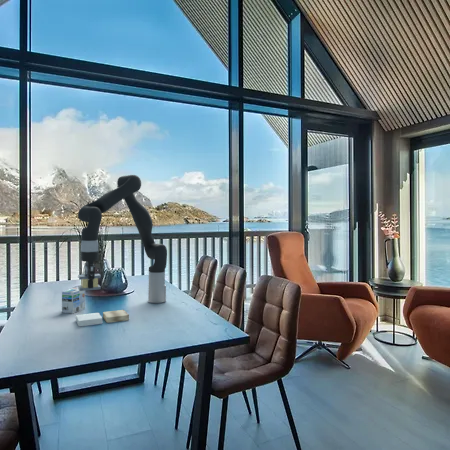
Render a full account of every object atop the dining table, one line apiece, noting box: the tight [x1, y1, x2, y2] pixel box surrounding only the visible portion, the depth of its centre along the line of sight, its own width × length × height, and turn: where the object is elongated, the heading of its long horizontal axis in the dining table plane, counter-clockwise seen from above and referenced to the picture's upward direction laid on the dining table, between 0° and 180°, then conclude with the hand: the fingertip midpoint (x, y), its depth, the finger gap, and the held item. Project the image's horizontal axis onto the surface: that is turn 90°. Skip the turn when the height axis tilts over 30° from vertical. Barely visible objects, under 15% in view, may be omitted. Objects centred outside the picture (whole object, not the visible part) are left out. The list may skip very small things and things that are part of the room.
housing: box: [77, 273, 102, 292], centre depth 162 cm, size 9×6×6 cm, turn 119°
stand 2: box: [102, 309, 130, 324], centre depth 169 cm, size 10×10×2 cm
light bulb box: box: [61, 287, 86, 314], centre depth 182 cm, size 11×7×11 cm, turn 168°
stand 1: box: [75, 312, 103, 327], centre depth 163 cm, size 10×10×2 cm
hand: (89, 286), depth 162 cm, fingers closed on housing, 5 cm apart
